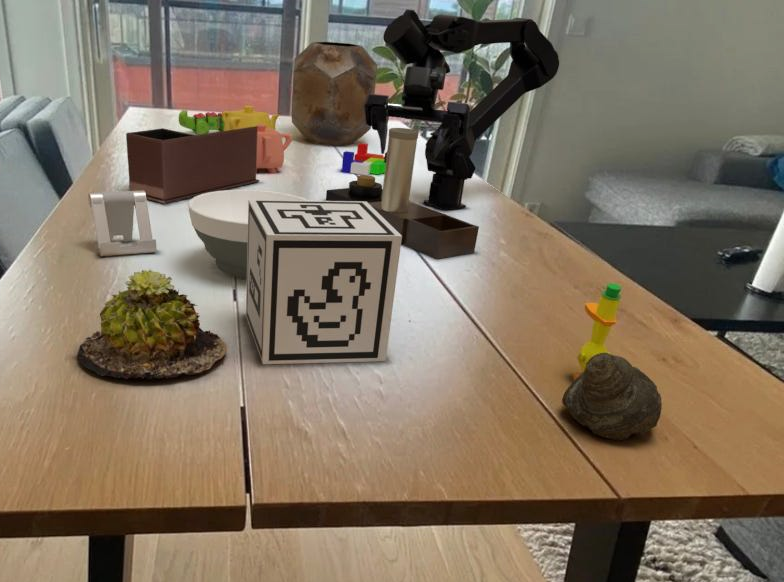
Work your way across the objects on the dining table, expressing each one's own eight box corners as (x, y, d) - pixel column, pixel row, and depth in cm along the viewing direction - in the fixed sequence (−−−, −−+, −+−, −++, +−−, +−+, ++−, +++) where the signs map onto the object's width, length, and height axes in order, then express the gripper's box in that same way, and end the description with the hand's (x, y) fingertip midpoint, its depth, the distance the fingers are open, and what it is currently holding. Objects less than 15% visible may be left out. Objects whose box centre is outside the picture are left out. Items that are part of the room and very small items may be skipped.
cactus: (91, 394, 81) (83, 306, 75) (66, 336, 93) (57, 256, 87) (245, 374, 87) (247, 291, 82) (203, 322, 99) (203, 247, 94)
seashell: (534, 348, 83) (567, 389, 74) (638, 294, 80) (684, 330, 72) (567, 427, 89) (601, 473, 80) (665, 379, 86) (712, 421, 78)
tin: (395, 204, 139) (405, 127, 132) (413, 211, 136) (424, 132, 129) (374, 207, 137) (383, 128, 130) (392, 214, 134) (402, 133, 126)
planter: (317, 130, 228) (323, 38, 214) (387, 144, 216) (398, 48, 203) (271, 138, 212) (275, 40, 199) (344, 153, 201) (353, 50, 188)
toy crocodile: (243, 131, 219) (243, 108, 216) (251, 135, 214) (251, 111, 211) (175, 131, 212) (175, 107, 208) (182, 136, 207) (182, 111, 203)
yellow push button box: (371, 196, 163) (373, 176, 161) (401, 207, 156) (404, 187, 154) (325, 201, 157) (327, 180, 155) (355, 213, 150) (357, 192, 148)
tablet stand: (102, 258, 118) (97, 202, 113) (90, 243, 124) (86, 189, 119) (156, 254, 121) (154, 199, 117) (143, 239, 127) (140, 187, 122)
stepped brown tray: (400, 223, 146) (403, 198, 144) (474, 253, 133) (479, 226, 130) (361, 228, 141) (363, 203, 139) (434, 259, 128) (438, 232, 126)
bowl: (218, 297, 107) (218, 228, 102) (171, 255, 121) (169, 192, 116) (339, 283, 115) (345, 218, 110) (282, 245, 129) (285, 186, 124)
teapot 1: (273, 146, 203) (274, 103, 197) (279, 156, 193) (281, 111, 187) (221, 144, 201) (221, 101, 195) (225, 154, 190) (225, 108, 185)
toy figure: (557, 368, 94) (582, 272, 87) (584, 368, 94) (612, 273, 88) (580, 393, 88) (610, 293, 82) (609, 393, 89) (641, 293, 82)
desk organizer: (125, 194, 151) (121, 132, 145) (222, 173, 172) (223, 119, 166) (164, 204, 146) (162, 141, 140) (259, 182, 167) (261, 126, 161)
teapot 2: (250, 162, 185) (252, 118, 179) (293, 170, 180) (295, 125, 175) (223, 169, 176) (223, 123, 171) (267, 177, 171) (269, 130, 166)
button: (366, 183, 157) (367, 174, 156) (378, 187, 154) (379, 178, 153) (353, 184, 155) (353, 175, 154) (363, 188, 152) (364, 179, 151)
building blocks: (394, 179, 178) (396, 159, 176) (341, 171, 181) (342, 152, 179) (407, 167, 190) (410, 149, 188) (358, 161, 193) (359, 142, 191)
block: (262, 364, 90) (267, 235, 81) (245, 316, 102) (248, 199, 94) (385, 361, 93) (402, 236, 84) (354, 314, 105) (366, 201, 97)
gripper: (372, 42, 135) (353, 119, 132) (479, 52, 131) (462, 131, 128) (375, 87, 145) (357, 160, 142) (474, 97, 142) (458, 171, 139)
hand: (407, 155), depth 138 cm, fingers open, 9 cm apart
